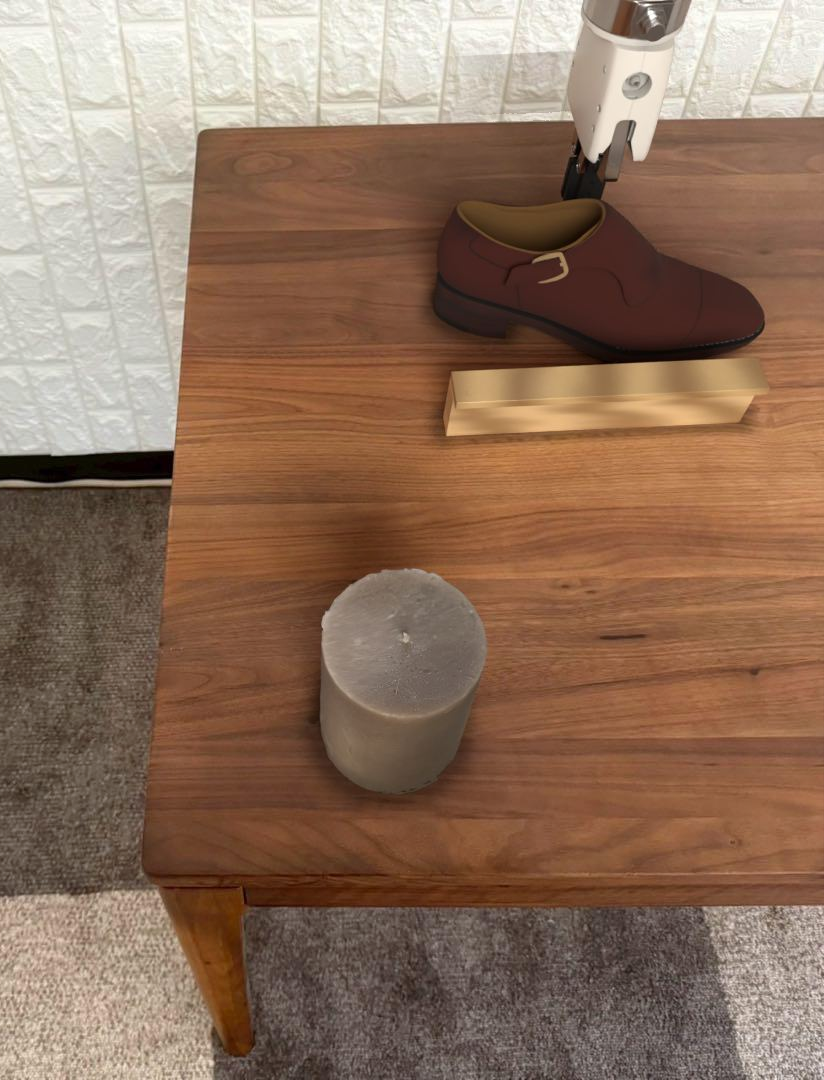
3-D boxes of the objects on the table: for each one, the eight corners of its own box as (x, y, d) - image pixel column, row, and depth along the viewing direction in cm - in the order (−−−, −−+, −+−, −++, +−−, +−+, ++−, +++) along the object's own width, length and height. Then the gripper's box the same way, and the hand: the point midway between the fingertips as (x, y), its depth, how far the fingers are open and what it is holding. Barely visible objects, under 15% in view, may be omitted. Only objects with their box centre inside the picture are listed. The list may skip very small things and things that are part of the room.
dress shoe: (757, 383, 85) (817, 281, 75) (423, 344, 88) (438, 240, 78) (751, 304, 89) (806, 197, 80) (434, 269, 93) (449, 162, 83)
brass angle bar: (732, 403, 84) (758, 356, 79) (743, 434, 82) (770, 388, 77) (442, 417, 84) (451, 371, 79) (447, 448, 82) (456, 403, 77)
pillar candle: (452, 806, 67) (486, 724, 54) (307, 781, 68) (306, 694, 55) (466, 672, 72) (499, 568, 59) (330, 651, 73) (334, 544, 60)
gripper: (715, 57, 70) (640, 258, 86) (664, -61, 78) (604, 143, 93) (607, 61, 70) (551, 262, 86) (567, -57, 78) (523, 146, 93)
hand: (579, 199), depth 89 cm, fingers closed
